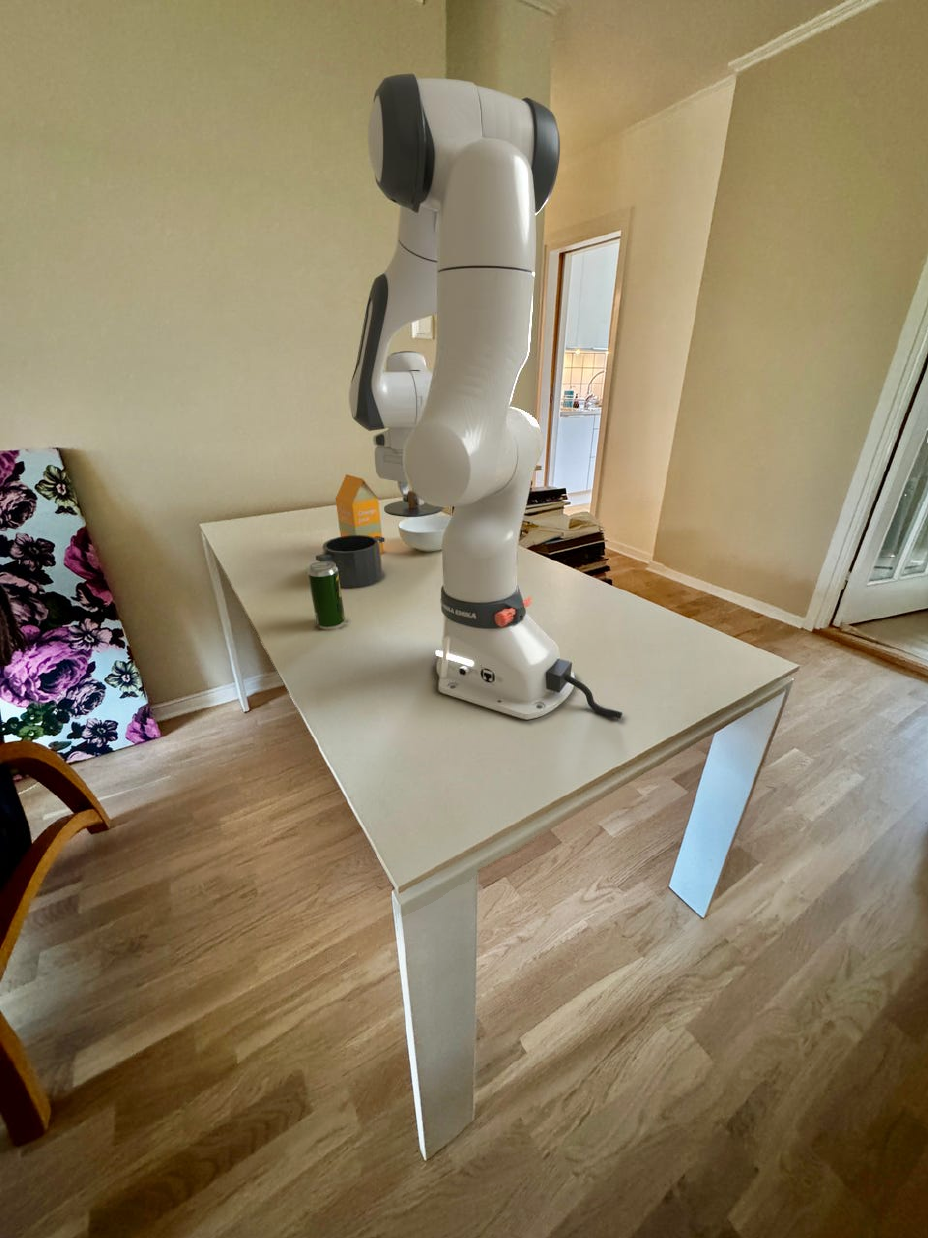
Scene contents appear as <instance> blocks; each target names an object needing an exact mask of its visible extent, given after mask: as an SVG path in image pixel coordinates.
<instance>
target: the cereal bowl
mask: <svg viewBox="0 0 928 1238" xmlns="http://www.w3.org/2000/svg"><path fill="white" fill-rule="evenodd" d="M451 517H452V515H446V514H433V515H428V516H422V517H406V518H405V519H402V520H401V521H400V522H399V523H398V525H397V527H398V533H399V537H400V539H401V540H402V542H403V543H404V544H405V545H407V546H408V547H411V548H414V549H417V550H418V551H421V552H428V553H429V552H430V553H431V552H438V551H442V538H443V535H444V532H445V530H446V528H447V526H448V524H449V522H450V520H451Z"/></svg>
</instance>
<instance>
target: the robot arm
mask: <svg viewBox="0 0 928 1238" xmlns="http://www.w3.org/2000/svg"><path fill="white" fill-rule="evenodd" d="M557 123H558V122H557V119H556V117H555V115H554V113H553V112H552V111H551V109H549V108H547V107H546V106H545V105H543V104H541V103H540V102H537V101H536V100H534V99H532V98H530V97H523V98H522V99H520V98H518V97H516V96H513V95H512V94H511V95H510V94H508V93H505V92H502V91H499V90H496V89H492V88H489V87H485V86H479V85H476V84H475V83H474V82H472V81H467V80H461V79H455V78H454V79H451V78H439V77H437V78H436V77H423V78H420V77H419V78H416V75H415V74H414V73H402V74H395V75H390V76H387V77H384V78H383V79H382V81H381V83H380V84H379V86H378V87H377V89H376V90H375V93H374V97H373V103H372V107H371V110H370V114H369V119H368V124H367V127H368V128H367V146H368V155H369V160H370V164H371V167H372V171H373V173H374V178H375V183H376V185H377V187H378V188H379V190H380V191H381V192H382V193H383V194H384V196H385V197H386V199H387V200H389V201H391V202H393V203H395V204H397V205H399V206H400V207H399V215H398V226H397V238H396V246H395V250H394V253H393V256H392V258H391V260H390V263H389V264H388V266H387V268H386V269H385V271H384V272H382V273H381V274H380V275H378V276H376V277H375V278H374V280H373V282H372V284H371V285H372V286H371V288H370V290H369V291H370V292H369V295H368V300H367V304H366V308H365V313H364V319H363V324H362V330H361V336H360V340H359V341H360V342H359V346H358V347H359V348H358V353H357V359H356V362H355V363H356V364H355V367H354V371H353V374H352V378H351V381H350V387H349V390H348V405H349V410H350V413H351V417H352V419H353V420H354V421H355V422H356V423H357V424H358V425H360V426H361V427H362V428H364V429H365V430H367V431H368V432H373V431H377V430H378V431H379V430H384V431H382V432H379V433H376V434H375V435H373V437H372V438H373V439H372V441H373V445H374V446H375V449H374V466H375V472H376V474H377V477H378V478H379V479H383V480H388V481H389V480H390V481H394V482H397V487H398V489H399V491H400V493H401V496H402V501H404V502H408V491H410V489H409V488H411V490H413V491H414V493H415V494H416V495H417V496H414V500H415V501H414V503H415V504H418V505H422V504H424V502H426V503H428V504H430V505H433V506H439V507H453V511H452V513H451V516H452V517H451V520H450V522H449V524H448V526H447V528H446V530H445V532H444V535H443V538H442V550H441V560H442V583H443V584H442V585H441V587H440V599H439V601H440V610H441V613H442V615H443V624H442V635H441V645H440V650H436V651H435V655H436V656H438V659H437V662H436V665H435V666H436V667H435V669H436V673H437V675H438V678H439V679H438V685H437V686H438V687H437V689H438V692H439V693H441V694H444V695H447V696H450V697H453V698H456V699H459V700H462V701H466V702H469V703H472V704H475V705H478V706H481V707H484V708H487V709H490V710H493V711H497V712H500V713H503V714H505V715H509V716H512V717H514V718H515V717H516V718H518V719H522V720H526V721H527V720H533V719H536V718H540V717H542V716H544V715H547V714H548V713H550V712H552V711H554V710H555V709H556V708H558V707H559V706H560V705H562V703H563V702H564V701H565V700H566V699H567V698H568V697H569V696H570V694H571V693H572V692H573V690H574V687H575V688H577V689H579V691H581V692H582V693H583V694H584V695H585V698H586V702H587V704H588V706H589V708H591V709H592V710H593V711H594V712H596V713H598V714H600V715H603V716H607V717H613V718H616V719H619V720H621V719H622V717H623V712H622V711H619V710H615V709H611V708H606V707H604V706H601V705H599V704H597V702H595V699H594V696H593V693H592V691H591V689H590V688H588V687H589V686H587V685H586V684H585V683H583V682H582V681H580V680H578V679H577V678H575V672H573V670H572V668H573V662H572V661H569V660H565V659H562V658H561V654H560V648H559V647H558V644H557V643H556V642H555V641H554V640H553V639H552V638H551V637H550V636H549V635H548V634H547V633H546V632H545V631H544V630H543V628H541V627H540V626H539V624H537V622H535V620H533V618H532V617H530V615H529V614H528V613H527V609H526V608H528V607H529V606H531V604H532V603H533V602H532V601H531V600H532V599H533V597H532V596H528V597H527V598H525V599H523V596H522V592H521V591H520V588H519V585H518V563H519V562H518V561H519V543H520V536H521V531H522V525H523V522H524V521H523V520H524V516H525V511H526V507H527V503H528V499H529V495H530V489H531V485H532V481H533V477H534V474H535V470H536V467H537V465H538V464H539V461H540V459H541V457H542V454H543V451H544V450H543V449H544V437H543V433H542V430H541V427H540V426H539V424H538V422H537V420H536V419H535V418H534V417H532V415H530V413H527V412H525V411H524V410H521V409H519V408H516V407H513V406H510V405H511V402H512V398H513V394H514V390H515V388H516V384H517V381H518V377H519V375H520V372H521V371H522V368H523V367H524V365H525V364H526V362H527V360H528V356H529V353H530V346H531V345H530V343H531V333H532V332H531V331H532V316H533V304H534V290H535V275H536V258H537V214H538V213H539V212H540V211H541V210H542V209H543V208H544V206H545V205H546V203H547V202H548V201H549V198H550V197H551V195H552V193H553V190H554V187H555V183H556V180H557V176H558V172H559V164H560V155H561V137H560V136H561V135H560V130H559V128H558V124H557ZM432 316H436V346H435V357H434V365H433V370H432V371H431V370H430V369H428V367H427V364H426V359H425V356H424V354H422V353H420V352H417V351H412V350H407V351H406V350H404V351H403V350H401V351H398V352H393V353H391V354H390V355H388V351H389V347H390V343H391V340H392V339H393V337H394V336H395V335H396V334H397V333H398V332H399V331H400V330H402V329H403V328H405V327H407V326H409V325H411V324H413V323H416V322H417V321H418V322H419V321H421V320H422V319H425V318H428V317H432ZM384 369H385V371H384ZM385 429H387V430H385ZM408 486H409V487H408Z"/></svg>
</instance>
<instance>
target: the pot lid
mask: <svg viewBox="0 0 928 1238" xmlns="http://www.w3.org/2000/svg"><path fill="white" fill-rule="evenodd" d="M414 496H417V495H416V494H415V493H414V491H413V490H412V489H411V490H410V489H409V491H408V502H404V501H403V500H397V501H394V502H390V503H387V504H385V505H384V506H383V511H384V513H386V514H387V515H390V516H395V517H402V518H410V517H422V516H428V515H437V514H439V513H441V512H443V510H444V507H439V506H433V505H430V504H428V503H426V502H424V504H422V505H418V504H415V503H414V501H415V500H414Z"/></svg>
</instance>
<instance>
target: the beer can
mask: <svg viewBox="0 0 928 1238" xmlns="http://www.w3.org/2000/svg"><path fill="white" fill-rule="evenodd" d="M307 569H308V570H307V576H308V577H307V578H308V581H309V582H308V583H309V587H310V593H311V599H312V605H313V609H314V617H315V622H316V625H317V626H318V627H319V628H320V629H321V630H327V631H329V630H336V629H339V628H341V627H342V626H343V625H344V624H345V621H346V616H345V608H344V603H343V595H342V588H341V587H340V580H339V574H338V569H337V567H336V564H335V563H334V562H330V561H321V562H320V561H317V562H313V563H310V564H309V565H308V567H307Z"/></svg>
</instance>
